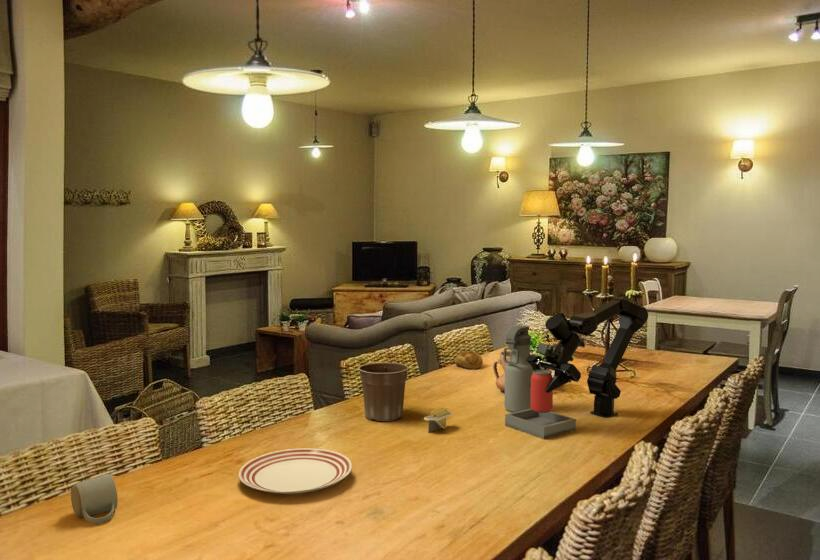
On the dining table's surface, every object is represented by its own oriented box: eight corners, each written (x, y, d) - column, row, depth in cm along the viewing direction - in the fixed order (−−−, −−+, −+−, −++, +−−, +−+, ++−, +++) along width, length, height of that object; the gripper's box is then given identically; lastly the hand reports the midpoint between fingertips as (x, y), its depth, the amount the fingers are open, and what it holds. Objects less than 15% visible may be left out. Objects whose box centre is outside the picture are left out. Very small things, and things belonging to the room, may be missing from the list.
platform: (472, 428, 211) (472, 407, 210) (436, 443, 197) (436, 420, 197) (441, 420, 219) (441, 400, 218) (404, 434, 205) (404, 412, 204)
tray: (536, 417, 221) (536, 407, 220) (575, 430, 208) (576, 419, 207) (505, 425, 212) (505, 414, 212) (543, 439, 199) (544, 427, 199)
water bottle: (520, 415, 223) (521, 330, 220) (497, 409, 230) (498, 326, 227) (539, 410, 229) (541, 327, 227) (517, 403, 237) (518, 323, 234)
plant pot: (351, 412, 226) (351, 364, 224) (397, 407, 232) (397, 360, 231) (368, 426, 211) (368, 374, 209) (416, 420, 217) (416, 370, 216)
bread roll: (449, 366, 295) (449, 348, 295) (465, 363, 302) (465, 345, 301) (471, 371, 286) (471, 352, 285) (487, 368, 292) (487, 349, 291)
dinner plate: (301, 512, 150) (301, 498, 150) (214, 486, 165) (214, 473, 164) (374, 473, 173) (374, 460, 173) (291, 453, 188) (291, 441, 187)
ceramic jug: (545, 391, 254) (546, 353, 252) (526, 399, 242) (526, 360, 241) (503, 383, 265) (504, 347, 264) (483, 391, 254) (483, 353, 252)
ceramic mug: (69, 511, 150) (68, 477, 149) (109, 501, 155) (108, 469, 154) (82, 530, 142) (81, 494, 141) (123, 518, 147) (122, 484, 146)
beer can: (545, 414, 205) (545, 375, 203) (526, 410, 209) (526, 371, 208) (556, 409, 210) (557, 371, 208) (537, 405, 214) (538, 368, 213)
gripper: (530, 328, 217) (503, 367, 212) (574, 337, 201) (546, 380, 196) (548, 350, 222) (522, 389, 217) (593, 360, 206) (566, 402, 201)
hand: (538, 389), depth 208 cm, fingers closed on beer can, 7 cm apart
